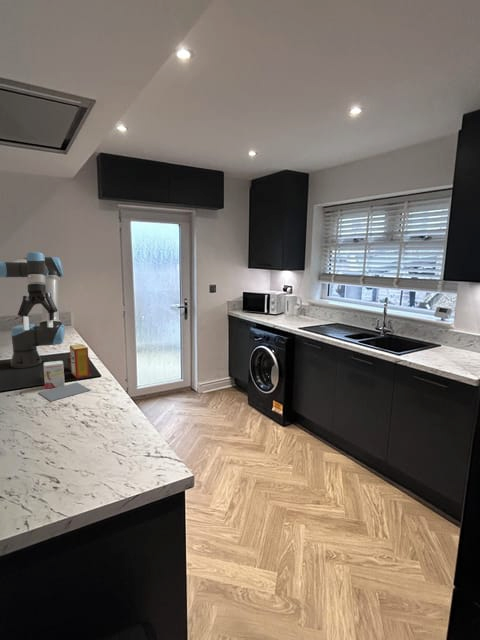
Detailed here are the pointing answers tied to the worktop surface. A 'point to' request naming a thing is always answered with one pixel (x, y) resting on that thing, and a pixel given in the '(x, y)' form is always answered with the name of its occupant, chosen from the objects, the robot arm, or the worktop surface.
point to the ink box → (53, 374)
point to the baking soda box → (79, 360)
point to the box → (69, 363)
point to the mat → (64, 391)
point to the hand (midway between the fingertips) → (38, 328)
